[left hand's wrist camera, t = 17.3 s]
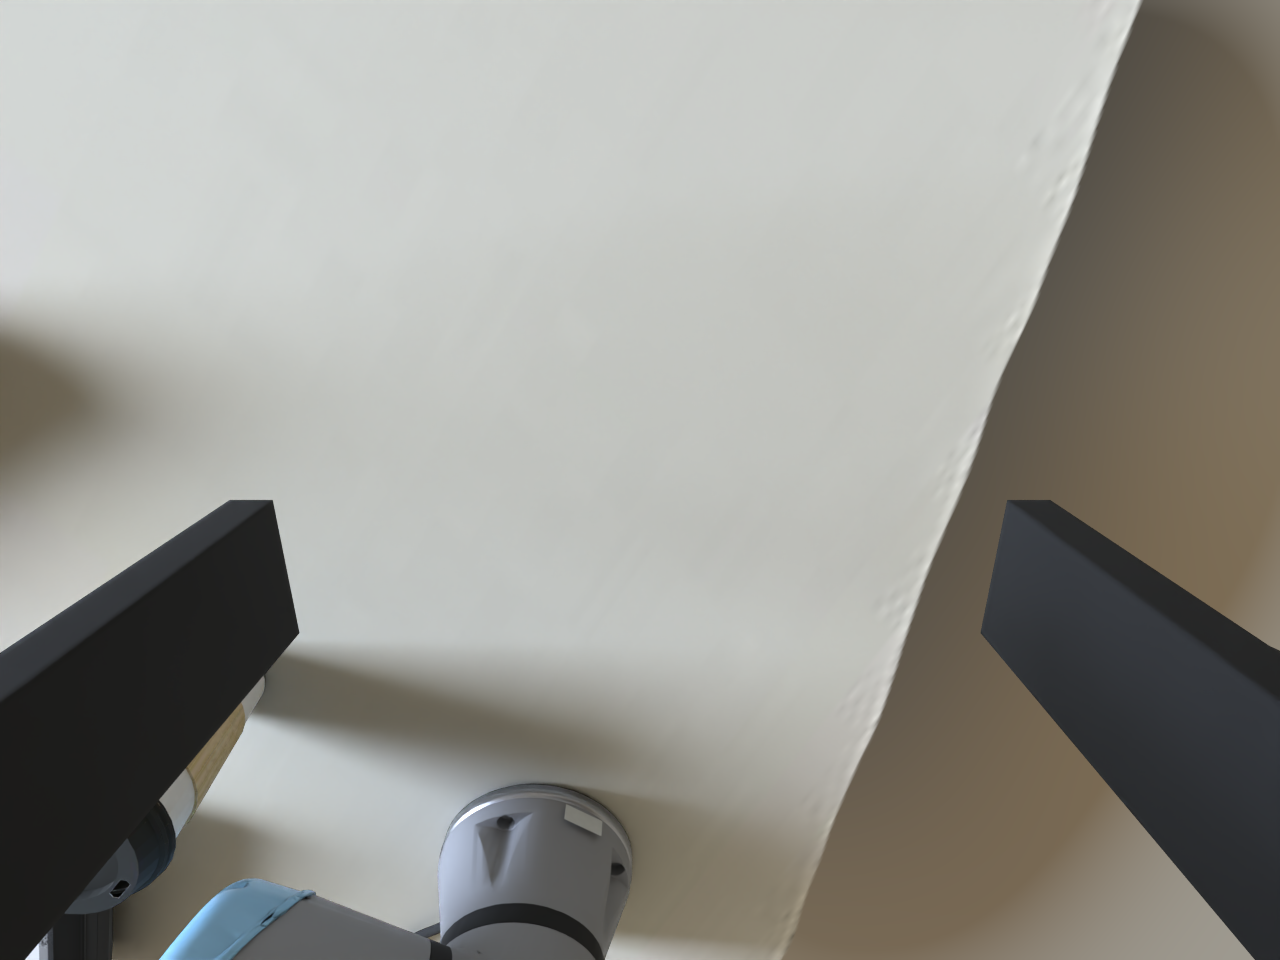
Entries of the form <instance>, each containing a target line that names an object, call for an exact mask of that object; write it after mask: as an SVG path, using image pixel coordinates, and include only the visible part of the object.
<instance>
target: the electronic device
mask: <svg viewBox="0 0 1280 960" xmlns="http://www.w3.org/2000/svg"><path fill="white" fill-rule="evenodd" d="M112 947H113V907H112V908H110V909H107V910H104V911H101V912H97V913H89V914H65V913H64V914H63V915H62V916H61V917H60V919H59V920H58V921H57V922H56V923H55V925H54V926H53V927H52V928H51V929H50V931H49V932H48V933H47V934H46V935H45V937H44V938H43V939H42V940H41V941H40V942H39V944H38V945H37V946H36V947H35V948H34V950H33V951H32V952H31V953H30V954H29V956H28V957H27V958H26V959H25V960H111V958H112Z"/></svg>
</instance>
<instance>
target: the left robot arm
mask: <svg viewBox="0 0 1280 960" xmlns="http://www.w3.org/2000/svg"><path fill="white" fill-rule="evenodd" d="M298 634H299V629H298V624H297V619H296V614H295V609H294V604H293V599H292V594H291V589H290V584H289V579H288V574H287V569H286V564H285V559H284V554H283V549H282V544H281V539H280V534H279V529H278V524H277V519H276V514H275V509H274V504H273V500H229V501H228V502H226V503H225V504H223V505H222V506H220V507H219V508H217V509H216V510H214V511H213V512H211V513H210V514H208V515H207V516H205V517H204V518H202V519H201V520H199V521H198V522H196V523H195V524H193V525H192V526H190V527H189V528H187V529H186V530H184V531H183V532H181V533H180V534H178V535H177V536H175V537H174V538H172V539H171V540H169V541H168V542H166V543H165V544H163V545H162V546H160V547H159V548H157V549H156V550H154V551H153V552H151V553H150V554H148V555H147V556H145V557H144V558H142V559H141V560H139V561H138V562H136V563H135V564H133V565H132V566H130V567H129V568H127V569H126V570H124V571H123V572H121V573H120V574H118V575H117V576H115V577H114V578H112V579H111V580H109V581H108V582H106V583H105V584H103V585H102V586H100V587H99V588H97V589H96V590H94V591H93V592H91V593H90V594H88V595H87V596H85V597H84V598H82V599H81V600H79V601H78V602H76V603H75V604H73V605H72V606H70V607H69V608H67V609H66V610H64V611H63V612H61V613H60V614H58V615H57V616H55V617H54V618H52V619H50V620H49V621H47V622H46V623H44V624H43V625H41V626H40V627H38V628H37V629H35V630H34V631H32V632H31V633H29V634H28V635H26V636H25V637H23V638H22V639H20V640H19V641H17V642H16V643H14V644H13V645H11V646H10V647H8V648H7V649H5V650H4V651H2V652H1V653H0V960H25V959H26V958H27V957H28V956H29V954H30V953H31V952H32V951H33V950H34V948H35V947H36V946H37V945H38V944H39V942H40V941H41V940H42V939H43V938H44V937H45V935H46V934H47V933H48V932H49V931H50V929H51V928H52V927H53V926H54V925H55V923H56V922H57V921H58V920H59V919H60V917H61V916H62V915H63V914H64V913H65V912H66V910H67V909H68V908H69V907H70V906H71V904H72V903H73V902H74V901H75V900H76V898H77V897H78V896H79V895H80V894H81V892H82V891H83V890H84V889H85V888H86V886H87V885H88V884H89V883H90V882H91V881H92V879H93V878H94V877H95V876H96V875H97V873H98V872H99V871H100V870H101V869H102V867H103V866H104V865H105V864H106V863H107V861H108V860H109V859H110V858H111V857H112V856H113V854H114V853H115V852H116V851H117V850H118V848H119V847H120V846H121V845H122V844H123V842H124V841H125V840H126V839H127V838H128V836H129V835H130V834H131V833H132V832H133V830H134V829H135V828H136V827H137V826H138V825H139V823H140V822H141V821H142V820H143V819H144V817H145V816H146V815H147V814H148V813H149V811H150V810H151V809H152V808H153V807H154V805H155V804H156V803H157V802H158V801H159V800H160V798H161V797H162V796H163V795H164V794H165V792H166V791H167V790H168V789H169V788H170V786H171V785H172V784H173V783H174V782H175V780H176V779H177V778H178V777H179V776H180V775H181V773H182V772H183V771H184V770H185V769H186V767H187V766H188V765H189V764H190V763H191V761H192V760H193V759H194V758H195V757H196V755H197V754H198V753H199V752H200V751H201V749H202V748H203V747H204V746H205V745H206V744H207V742H208V741H209V740H210V739H211V738H212V736H213V735H214V734H215V733H216V732H217V730H218V729H219V728H220V727H221V726H222V724H223V723H224V722H225V721H226V720H227V719H228V717H229V716H230V715H231V714H232V713H233V711H234V710H235V709H236V708H237V707H238V705H239V704H240V703H241V702H242V701H243V699H244V698H245V697H246V696H247V695H248V693H249V692H250V691H251V690H252V689H253V688H254V686H255V685H256V684H257V683H258V682H259V680H260V679H261V678H262V677H263V676H264V674H265V673H266V672H267V671H268V670H269V668H270V667H271V666H272V665H273V664H274V663H275V661H276V660H277V659H278V658H279V657H280V655H281V654H282V653H283V652H284V651H285V649H286V648H287V647H288V646H289V645H290V643H291V642H292V641H293V640H294V639H295V638H296V636H297V635H298ZM981 634H982V635H983V636H984V638H985V639H986V640H987V641H988V642H989V643H990V645H991V646H992V647H993V648H994V649H995V651H996V652H997V653H998V654H999V655H1000V657H1001V658H1002V659H1003V660H1004V661H1005V663H1006V664H1007V665H1008V666H1009V667H1010V668H1011V670H1012V671H1013V672H1014V673H1015V674H1016V676H1017V677H1018V678H1019V679H1020V680H1021V682H1022V683H1023V684H1024V685H1025V686H1026V688H1027V689H1028V690H1029V691H1030V692H1031V693H1032V695H1033V696H1034V697H1035V698H1036V699H1037V701H1038V702H1039V703H1040V704H1041V705H1042V707H1043V708H1044V709H1045V710H1046V711H1047V713H1048V714H1049V715H1050V716H1051V717H1052V719H1053V720H1054V721H1055V722H1056V723H1057V724H1058V726H1059V727H1060V728H1061V729H1062V730H1063V732H1064V733H1065V734H1066V735H1067V736H1068V738H1069V739H1070V740H1071V741H1072V742H1073V744H1074V745H1075V746H1076V747H1077V748H1078V749H1079V751H1080V752H1081V753H1082V754H1083V755H1084V757H1085V758H1086V759H1087V760H1088V761H1089V763H1090V764H1091V765H1092V766H1093V767H1094V769H1095V770H1096V771H1097V772H1098V773H1099V775H1100V776H1101V777H1102V778H1103V779H1104V780H1105V782H1106V783H1107V784H1108V785H1109V786H1110V788H1111V789H1112V790H1113V791H1114V792H1115V794H1116V795H1117V796H1118V797H1119V798H1120V799H1121V801H1122V802H1123V803H1124V804H1125V805H1126V807H1127V808H1128V809H1129V810H1130V811H1131V813H1132V814H1133V815H1134V816H1135V817H1136V819H1137V820H1138V821H1139V822H1140V823H1141V825H1142V826H1143V827H1144V828H1145V829H1146V830H1147V832H1148V833H1149V834H1150V835H1151V836H1152V838H1153V839H1154V840H1155V841H1156V842H1157V844H1158V845H1159V846H1160V847H1161V848H1162V850H1163V851H1164V852H1165V853H1166V854H1167V856H1168V857H1169V858H1170V859H1171V860H1172V861H1173V863H1174V864H1175V865H1176V866H1177V867H1178V869H1179V870H1180V871H1181V872H1182V873H1183V875H1184V876H1185V877H1186V878H1187V879H1188V881H1189V882H1190V883H1191V884H1192V885H1193V886H1194V888H1195V889H1196V890H1197V891H1198V892H1199V894H1200V895H1201V896H1202V897H1203V898H1204V900H1205V901H1206V902H1207V903H1208V904H1209V906H1210V907H1211V908H1212V909H1213V910H1214V912H1215V913H1216V914H1217V915H1218V916H1219V917H1220V919H1221V920H1222V921H1223V922H1224V923H1225V925H1226V926H1227V927H1228V928H1229V929H1230V931H1231V932H1232V933H1233V934H1234V935H1235V937H1236V938H1237V939H1238V940H1239V941H1240V942H1241V944H1242V945H1243V946H1244V947H1245V948H1246V950H1247V951H1248V952H1249V953H1250V954H1251V956H1252V957H1253V958H1254V959H1255V960H1280V651H1279V650H1277V649H1275V648H1273V647H1270V646H1268V645H1267V644H1266V643H1264V642H1262V641H1261V640H1260V639H1258V638H1257V637H1255V636H1254V635H1252V634H1251V633H1249V632H1248V631H1246V630H1245V629H1243V628H1242V627H1240V626H1239V625H1237V624H1236V623H1234V622H1233V621H1231V620H1229V619H1228V618H1226V617H1225V616H1223V615H1222V614H1220V613H1219V612H1217V611H1216V610H1214V609H1213V608H1211V607H1210V606H1208V605H1207V604H1205V603H1204V602H1202V601H1201V600H1199V599H1198V598H1196V597H1195V596H1193V595H1192V594H1190V593H1189V592H1187V591H1186V590H1184V589H1183V588H1181V587H1180V586H1178V585H1177V584H1175V583H1174V582H1172V581H1171V580H1169V579H1168V578H1166V577H1165V576H1163V575H1162V574H1160V573H1159V572H1157V571H1156V570H1154V569H1153V568H1151V567H1150V566H1148V565H1147V564H1145V563H1144V562H1142V561H1141V560H1139V559H1138V558H1136V557H1135V556H1133V555H1132V554H1130V553H1129V552H1127V551H1126V550H1124V549H1123V548H1121V547H1120V546H1118V545H1117V544H1115V543H1114V542H1112V541H1111V540H1109V539H1108V538H1106V537H1105V536H1103V535H1102V534H1100V533H1099V532H1097V531H1096V530H1094V529H1093V528H1091V527H1090V526H1088V525H1087V524H1085V523H1084V522H1082V521H1081V520H1079V519H1078V518H1076V517H1075V516H1073V515H1072V514H1070V513H1069V512H1067V511H1066V510H1064V509H1063V508H1061V507H1060V506H1058V505H1057V504H1055V503H1054V502H1052V501H1051V500H1007V504H1006V510H1005V514H1004V519H1003V524H1002V529H1001V534H1000V539H999V544H998V549H997V554H996V559H995V564H994V569H993V574H992V579H991V584H990V589H989V594H988V599H987V604H986V609H985V614H984V619H983V624H982V629H981ZM631 878H632V851H631V846H630V842H629V839H628V837H627V834H626V832H625V831H624V829H623V827H622V826H621V824H620V823H619V822H618V820H617V819H616V818H615V817H614V816H613V815H612V814H611V813H610V812H609V811H608V810H607V809H606V808H604V807H603V806H602V805H600V804H599V803H597V802H596V801H594V800H592V799H591V798H589V797H587V796H585V795H583V794H580V793H577V792H575V791H572V790H569V789H565V788H561V787H556V786H550V785H539V784H526V785H516V786H510V787H505V788H501V789H498V790H495V791H492V792H489V793H487V794H485V795H483V796H481V797H479V798H477V799H476V800H474V801H473V802H471V803H470V804H468V805H467V806H466V807H465V808H464V809H462V810H461V812H460V813H459V814H458V815H457V816H456V817H455V819H454V820H453V821H452V823H451V825H450V827H449V829H448V831H447V834H446V837H445V840H444V843H443V846H442V849H441V853H440V860H439V867H438V890H439V911H440V923H437V924H435V925H433V926H430V927H427V928H425V929H422V930H420V931H418V932H416V933H412V932H409V931H406V930H404V929H401V928H399V927H396V926H393V925H391V924H388V923H386V922H383V921H380V920H378V919H375V918H373V917H370V916H368V915H365V914H362V913H360V912H357V911H355V910H352V909H349V908H347V907H344V906H342V905H339V904H337V903H334V902H331V901H329V900H326V899H324V898H321V897H318V896H316V893H315V892H314V891H312V890H303V891H298V890H295V889H292V888H288V887H285V886H282V885H279V884H275V883H272V882H269V881H266V880H262V879H258V878H249V879H243V880H240V881H237V882H235V883H233V884H231V885H229V886H227V887H226V888H224V889H223V890H222V891H220V892H219V893H218V894H217V895H216V896H215V897H213V898H212V899H211V900H210V901H209V902H208V903H207V904H206V905H205V906H204V907H203V908H202V909H201V910H200V911H199V912H198V914H197V915H196V916H195V917H194V918H193V919H192V920H191V921H190V923H189V924H188V925H187V926H186V927H185V929H184V930H183V931H182V932H181V933H180V934H179V936H178V937H177V938H176V939H175V940H174V942H173V943H172V944H171V945H170V947H169V948H168V949H167V950H166V952H165V953H164V954H163V956H162V957H161V958H160V959H159V960H605V957H606V954H607V951H608V949H609V946H610V943H611V941H612V938H613V935H614V933H615V930H616V927H617V925H618V922H619V919H620V917H621V914H622V911H623V909H624V906H625V903H626V901H627V898H628V894H629V890H630V884H631ZM438 933H441V940H440V943H438V942H435V941H433V940H430V939H428V937H431V936H433V935H436V934H438Z"/></svg>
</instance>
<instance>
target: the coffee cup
mask: <svg viewBox="0 0 1280 960" xmlns="http://www.w3.org/2000/svg"><path fill="white" fill-rule="evenodd" d="M264 688H265V679H264V676H263V677H262V678H261V679H260V680H259V682H258V683H257V684H256V685H255V686H254V688H253V689H252V690H251V691H250V692H249V693H248V695H247V696H246V697H245V698H244V699H243V701H242V702H241V703H240V704H239V705H238V707H237V708H236V709H235V710H234V711H233V713H232V714H231V715H230V716H229V717H228V719H227V720H226V721H225V722H224V723H223V724H222V726H221V727H220V728H219V729H218V730H217V732H216V733H215V734H214V735H213V736H212V738H211V739H210V740H209V741H208V742H207V744H206V745H205V746H204V747H203V748H202V749H201V751H200V752H199V753H198V754H197V755H196V757H195V758H194V759H193V760H192V761H191V763H190V764H189V765H188V766H187V767H186V769H185V770H184V771H183V772H182V773H181V775H180V776H179V777H178V778H177V779H176V780H175V782H174V783H173V784H172V785H171V786H170V788H169V789H168V790H167V791H166V792H165V794H164V795H163V796H162V797H161V798H160V800H159V801H158V802H157V803H156V804H155V805H154V807H153V808H152V809H151V810H150V811H149V813H148V814H147V815H146V816H145V817H144V819H143V820H142V821H141V822H140V823H139V825H138V826H137V827H136V828H135V829H134V830H133V832H132V833H131V834H130V835H129V836H128V838H127V839H126V840H125V841H124V842H123V844H122V845H121V846H120V847H119V848H118V850H117V851H116V852H115V853H114V854H113V856H112V857H111V858H110V859H109V860H108V861H107V863H106V864H105V865H104V866H103V867H102V869H101V870H100V871H99V872H98V873H97V875H96V876H95V877H94V878H93V879H92V881H91V882H90V883H89V884H88V885H87V886H86V888H85V889H84V890H83V891H82V892H81V894H80V895H79V896H78V897H77V898H76V900H75V901H74V902H73V903H72V904H71V906H70V907H69V908H68V909H67V910H66V912H65V914H89V913H97V912H101V911H104V910H107V909H110V908H112V907H114V906H116V905H118V904H120V903H122V902H123V901H124V900H125V899H126V898H127V897H129V896H130V895H131V894H134V893H136V892H138V891H140V890H141V889H143V888H145V887H147V886H148V885H149V884H150V883H152V882H153V881H154V880H155V879H156V878H157V877H158V876H159V875H160V874H161V873H162V872H163V871H164V870H165V869H166V868H167V866H168V865H169V863H170V862H171V860H172V858H173V855H174V851H175V848H176V837H177V836H178V834H179V832H180V831H181V829H182V828H183V827H184V826H185V825H186V824H187V823H188V822H189V821H190V819H191V818H192V816H193V815H194V813H195V811H196V810H197V808H198V806H199V805H200V803H201V801H202V799H203V798H204V796H205V794H206V793H207V791H208V789H209V788H210V786H211V784H212V783H213V781H214V779H215V777H216V776H217V774H218V772H219V771H220V769H221V767H222V766H223V764H224V762H225V761H226V759H227V757H228V755H229V754H230V752H231V750H232V749H233V747H234V745H235V744H236V742H237V740H238V739H239V737H240V735H241V733H242V732H243V728H244V725H245V723H246V721H247V719H248V718H249V716H250V714H251V713H252V711H253V709H254V708H255V706H256V704H257V703H258V701H259V699H260V698H261V696H262V694H263V692H264ZM126 887H128V888H126ZM123 888H126V889H123Z"/></svg>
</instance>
